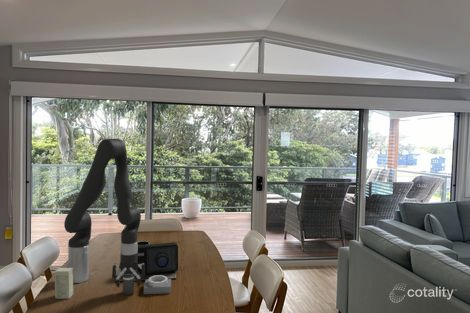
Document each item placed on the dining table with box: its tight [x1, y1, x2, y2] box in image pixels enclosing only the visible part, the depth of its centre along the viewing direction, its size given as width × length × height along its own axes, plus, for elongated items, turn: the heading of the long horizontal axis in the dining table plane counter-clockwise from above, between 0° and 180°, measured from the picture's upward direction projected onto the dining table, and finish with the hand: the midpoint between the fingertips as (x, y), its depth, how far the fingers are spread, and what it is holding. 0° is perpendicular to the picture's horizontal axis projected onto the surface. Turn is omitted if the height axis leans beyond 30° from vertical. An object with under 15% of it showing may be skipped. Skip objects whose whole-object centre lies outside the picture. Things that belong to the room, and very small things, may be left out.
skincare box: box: [54, 267, 74, 300], centre depth 152 cm, size 6×4×12 cm
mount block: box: [143, 274, 172, 295], centre depth 162 cm, size 12×9×5 cm
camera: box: [137, 241, 179, 275], centre depth 180 cm, size 23×10×15 cm, turn 105°
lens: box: [122, 273, 135, 296], centre depth 158 cm, size 5×5×8 cm
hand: (128, 286), depth 158 cm, fingers open, 8 cm apart
